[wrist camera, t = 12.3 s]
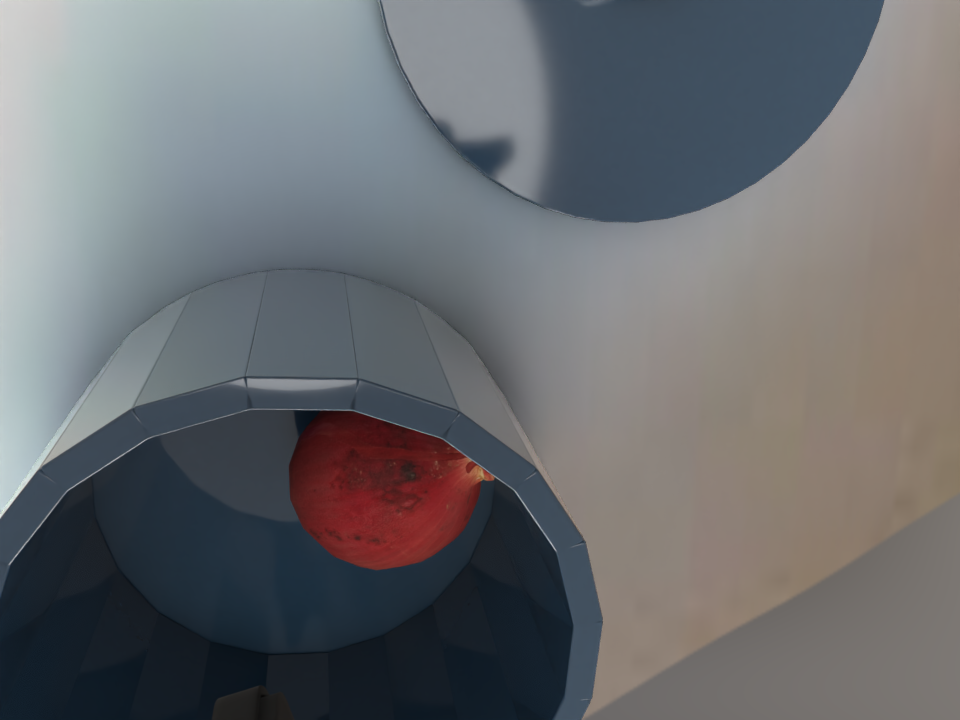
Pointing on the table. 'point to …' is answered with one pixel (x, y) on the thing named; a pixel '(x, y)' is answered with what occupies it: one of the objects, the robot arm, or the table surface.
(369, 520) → the pomegranate
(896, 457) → the table surface
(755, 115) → the lid
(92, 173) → the table surface
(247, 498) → the pot
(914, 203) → the table surface
